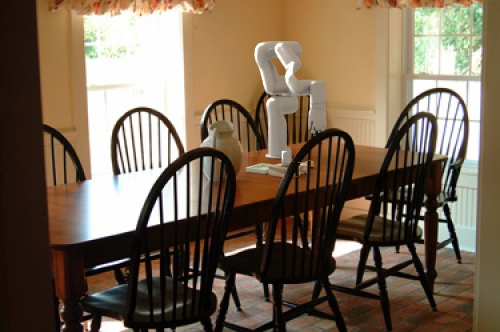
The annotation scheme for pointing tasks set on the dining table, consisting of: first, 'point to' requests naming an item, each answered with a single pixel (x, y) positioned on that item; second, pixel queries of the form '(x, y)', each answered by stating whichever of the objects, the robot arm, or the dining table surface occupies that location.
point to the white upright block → (286, 158)
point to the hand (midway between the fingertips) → (318, 144)
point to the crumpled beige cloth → (280, 171)
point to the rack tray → (259, 168)
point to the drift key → (311, 163)
